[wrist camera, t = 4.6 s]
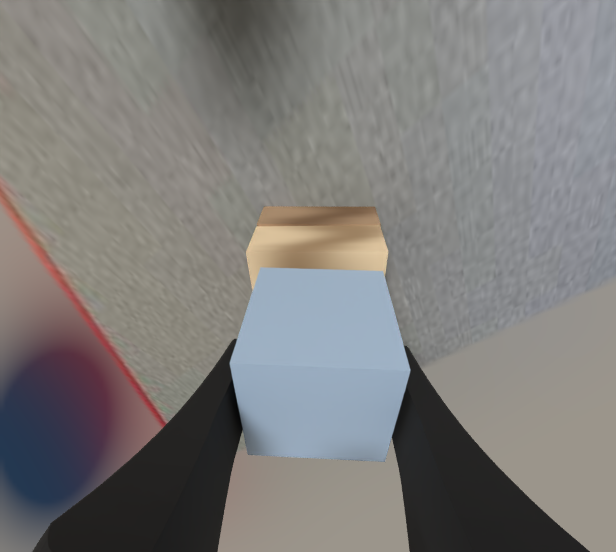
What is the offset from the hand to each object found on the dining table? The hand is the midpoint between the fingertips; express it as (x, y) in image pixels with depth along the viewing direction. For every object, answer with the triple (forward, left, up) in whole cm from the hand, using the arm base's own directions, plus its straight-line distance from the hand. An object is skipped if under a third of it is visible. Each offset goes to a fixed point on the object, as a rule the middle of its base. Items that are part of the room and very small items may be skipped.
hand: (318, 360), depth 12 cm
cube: (0, 0, -2) cm, 3 cm away
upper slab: (0, 0, -6) cm, 6 cm away
